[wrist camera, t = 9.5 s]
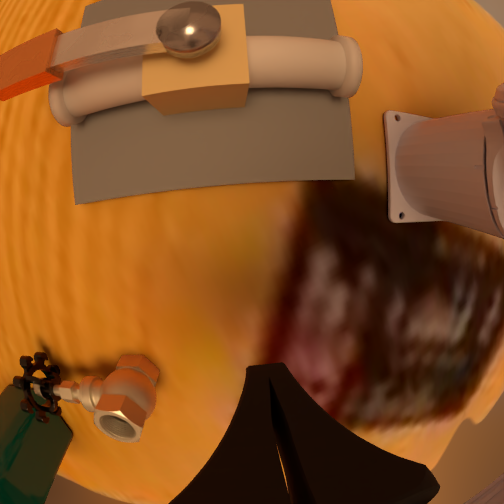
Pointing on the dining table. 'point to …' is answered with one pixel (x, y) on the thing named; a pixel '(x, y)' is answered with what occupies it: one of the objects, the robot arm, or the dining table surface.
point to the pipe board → (222, 134)
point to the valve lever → (109, 45)
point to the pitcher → (28, 450)
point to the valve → (95, 394)
